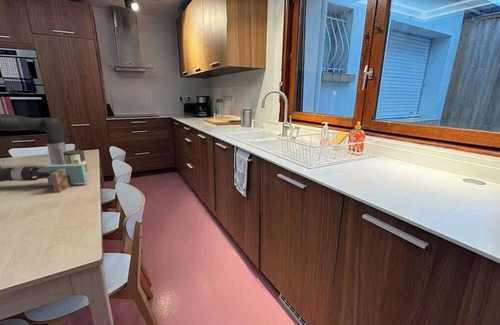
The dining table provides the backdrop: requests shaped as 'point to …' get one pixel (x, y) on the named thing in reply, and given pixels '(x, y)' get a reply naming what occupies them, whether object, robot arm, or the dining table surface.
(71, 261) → the dining table surface
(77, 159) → the coffee can
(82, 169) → the cross plate
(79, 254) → the dining table surface
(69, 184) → the base plate
